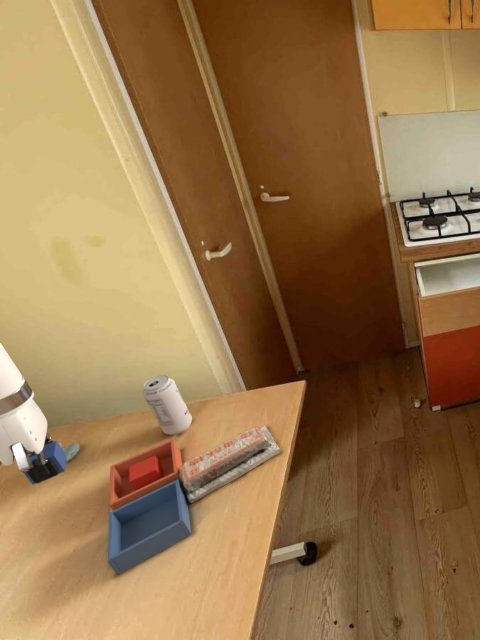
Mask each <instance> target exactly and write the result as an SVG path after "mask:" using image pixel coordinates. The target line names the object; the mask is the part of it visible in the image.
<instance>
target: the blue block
mask: <svg viewBox="0 0 480 640" xmlns="http://www.w3.org/2000/svg"><path fill="white" fill-rule="evenodd" d="M59 443H60V442H58V440H55V441H54V440H53V442H51V443H49V444H46V445H44V447H43V450H42V452H43V453H44V455H45V457H46V459H50V460H51V461H52V463H53V464H54V466H55V467H56V468H57V470H58V471H59V473H58V475H59V474H62V473H65V472H66V466H67V462H66V460H67V455H66V454H65V452H64V451H63V448H61V446H60V445H59ZM27 452H30V451H27ZM29 458H30V460H31V461H32V460H35V459H38V457H37V455H34V456H31V457H29ZM21 473H23V474H24V476H25V477H26V478H27V480H28V481H29V482H30V483H31V485H33V486H34V485H36V484H37V483H34V481H33V480H32V479H31V477H30V476H29V475H28V473H27V472H25V471H22V472H21Z"/></svg>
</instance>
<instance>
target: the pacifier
mask: <svg viewBox="0 0 480 640" xmlns="http://www.w3.org/2000/svg"><path fill="white" fill-rule="evenodd" d="M58 443H59V445H60V446H61V448H62V447H63V446H62V445H63V444H62V443H60V442H58ZM62 449H63V451H64V452H65V454H66V455H67V460H66V463H68V462H69V461H71V460H72V459H73V458H75V456H76V455H77V454H78V453H79V451H80V444H79V443H72V444H69V445H68V446H65V447H63V448H62Z"/></svg>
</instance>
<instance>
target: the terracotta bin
mask: <svg viewBox="0 0 480 640" xmlns="http://www.w3.org/2000/svg"><path fill="white" fill-rule="evenodd" d="M152 456H156V457H157V459H158V461H159V463H160V464H161V466H162V468H163V476H164V478H161V479H159V480H157V481H155V482H153V483H151V484H149V485H147V486H145V487H143V488H140V489H138V490H136V491H135V489H134V488H133V486H132V485H131V483H130V482H129V467H130V466H132V465H134V464H137V463H139V462H141V461H143V460H146V459H148V458H150V457H152ZM182 464H183V460H182V452H181V450H180V448H179V445H177V443H176V440H175V438H170V440H167V441H165V442H163V443H160V444H158V445H156V446H153V447H151V448H149V449H146V450H144V451H142V452H140V453H138V454H135V455H132V456H130V457H128V458H125V459H124V460H122V461H121V460H120V461H119V462H117V463H115V464H112V465H111V466H109V467H110V470H109V494H108V495H109V501H108V506H109V507H110V509H111V511H113V510H115V509H117V508H119V507H122V506H124V505H126V504H128V503H130V502H132V501H134V500H136V499H138V498H140V497H142V496H144V495H146V494H148V493H150V492H152V491H155V490H157V489H159V488H161V487H163V486H165V485H167V484H169V483H171V482H173V481H175V480H177V479H179V481H180V483H181V485H182V486H183V488H184V485H183V483H182V482H181V479H180V476H179V473H180V468H181V465H182Z"/></svg>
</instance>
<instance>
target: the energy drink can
mask: <svg viewBox="0 0 480 640" xmlns="http://www.w3.org/2000/svg"><path fill="white" fill-rule="evenodd" d="M142 388H143V391H142V395H143V397H144V399H145V402H146V403H147V405H148V406H149V409H150V410H151V412H152V414H153V415H154V417H155V420H156V421H157V423H158V425H159V427H160V428H161V430H162V433H164V434H166V435H169V436H174V435H175V436H176V435H178V434H181V433H183V432H185V431H186V430H187V429H189V428H190V426H191V423H192V421H193V417H192V414H191V413H190V410H189V408H188V406H187V404H186V402H185V400H184V399H183V397H182V394H181V393H180V390H179V389H178V386H177V384H176V382H175V380H174V379H172V378H170V377H169V376H168V375H167V374H161V375H160V374H159V375H156V376H154V377H152V378H150V379H148V380H147V381H145V382H144V384H143V385H142Z"/></svg>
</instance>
